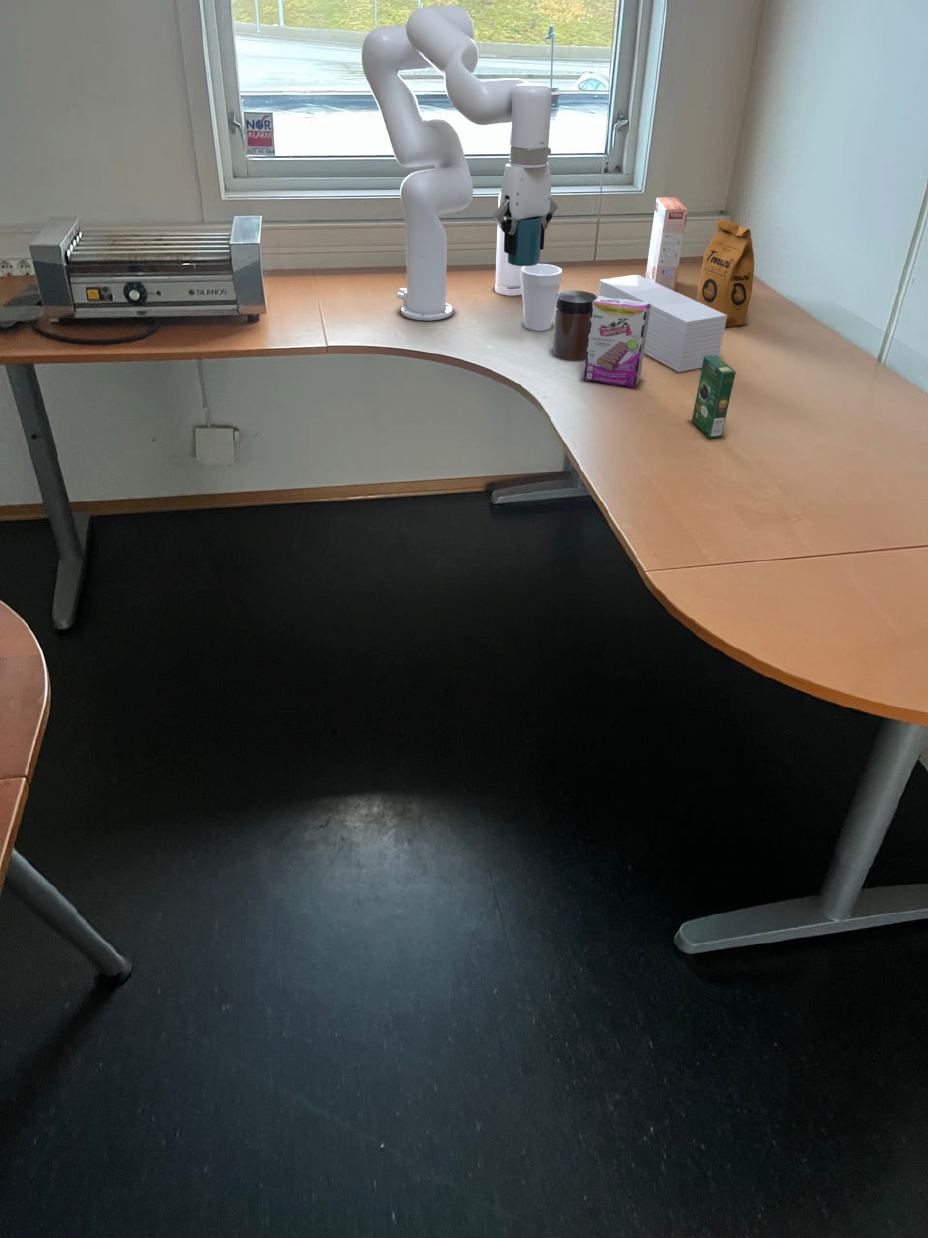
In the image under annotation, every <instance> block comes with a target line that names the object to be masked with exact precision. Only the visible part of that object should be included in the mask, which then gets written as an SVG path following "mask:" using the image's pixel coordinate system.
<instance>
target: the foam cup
mask: <svg viewBox="0 0 928 1238" xmlns="http://www.w3.org/2000/svg"><path fill="white" fill-rule="evenodd" d="M562 278H563V269H562V268H561V267H560V266H557V265H553V264H548V263H538V264H537V265H533V266H523V267H522V268H521V277H520V280H521V284H522V294H521V296H522V310H523V323H524V327H525V328H526V329H528V330H531V331H536V332H537V331H539V332H541V331H542V332H543V331H548V330H550V329H551V328H552V324H553V319H554V316H555V312H556V303H557V295H558V294H559V290H560V285H561V283H562Z"/></svg>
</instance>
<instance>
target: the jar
mask: <svg viewBox="0 0 928 1238" xmlns="http://www.w3.org/2000/svg"><path fill="white" fill-rule="evenodd" d="M590 317H591V312H590V313H584V314H574V313H567V312H563V311H561V310H559V309H557V307H556V306H555V321H554V332H553V344H552V345H553V346H552V347H553V348H552V354H553V356H554V357H556V358H558V359H561V360H564V361H571V362H572V361H574V362H575V361H576V362H577V361H583V360H586V353H587V344H588V335H589V326H590Z"/></svg>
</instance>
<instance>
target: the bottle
mask: <svg viewBox="0 0 928 1238" xmlns="http://www.w3.org/2000/svg"><path fill="white" fill-rule="evenodd" d="M500 197H501V191H500V193H499V195H498V206H497V209H498V208H499V207H500ZM505 219H506V217H504V220H505ZM496 232H497V233H496V257H495V284H494V291H495V293H497V294H499V295H502V296H504V295H505V296H522V284H521V280H520V277H521V268H522V267H523V266H516V265H512V264H510V263H508V258H507V255H508V253H505V252H504V232H502V229H501V228H500V227H499V225H498V224H497V231H496Z"/></svg>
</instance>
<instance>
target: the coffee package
mask: <svg viewBox="0 0 928 1238" xmlns="http://www.w3.org/2000/svg"><path fill="white" fill-rule="evenodd" d="M716 226H717V230H716V232H715V234H714V235H713V237H712V239H711V241H710V243H709V244H708V246H707V248H706V250H705V252H704V254H703V257H702V258H703V259H702V266H701V272H700V275H699V283H698V288H697V296H696V301H697V302H699V303H701V304H704V305H706V306H708V307H710V308H712V309H715V310H717V311H719V312H721V313H723V314H725V315H727V319H725V320H726V324H725V328H726V327H728V328H731V327H741V326H744V325H745V324H746V319H747V315H748V311H749V310H748V309H749V305H750V301H751V297H752V293H753V282H754V272H755V254H754V248H753V238H752V231H751V229H750V228H747V227H745V226H742V225H741V224H738V223H735V222H732V221H729V220H726V219H724V218H721V219H719V220H718V221H717V223H716Z"/></svg>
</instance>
